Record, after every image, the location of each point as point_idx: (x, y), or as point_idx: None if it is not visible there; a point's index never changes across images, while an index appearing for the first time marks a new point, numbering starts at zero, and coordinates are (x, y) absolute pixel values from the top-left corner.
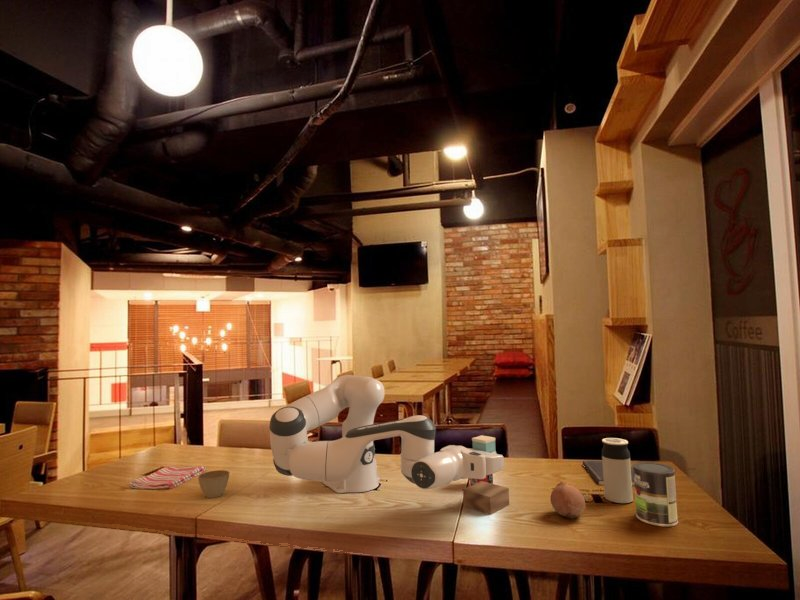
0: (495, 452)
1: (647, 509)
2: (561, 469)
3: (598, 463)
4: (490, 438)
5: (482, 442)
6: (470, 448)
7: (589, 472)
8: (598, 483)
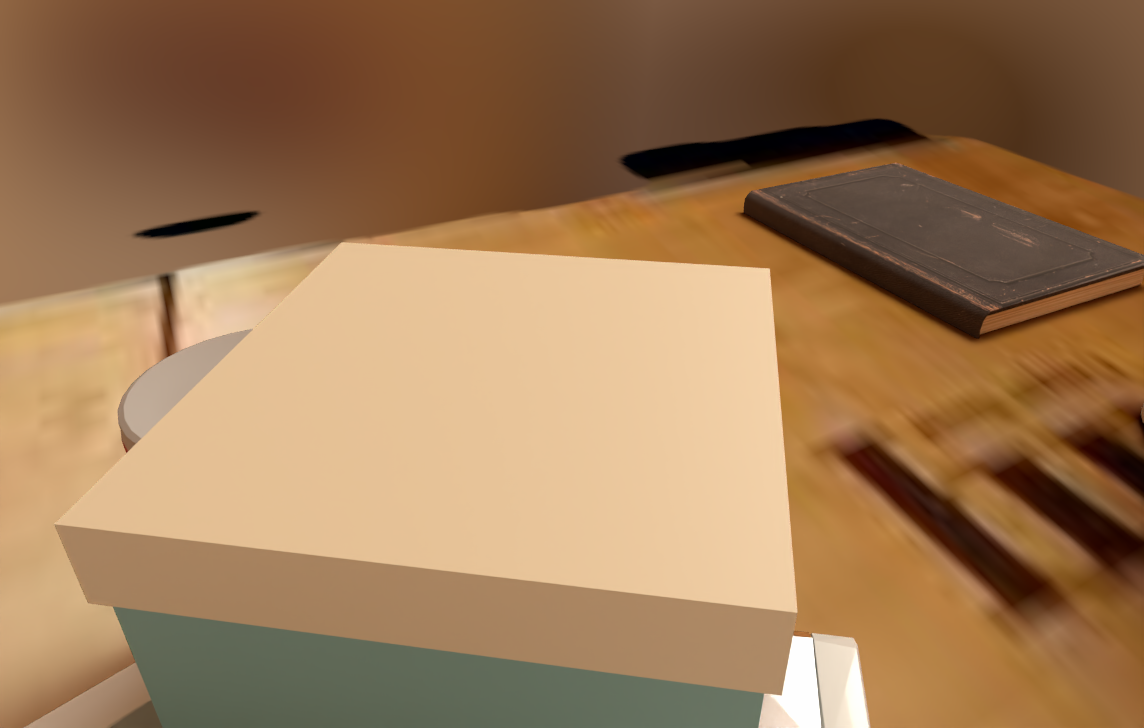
0: (859, 670)
1: None
2: (690, 263)
3: (826, 195)
4: (716, 343)
5: (600, 658)
6: (105, 689)
7: (837, 256)
8: (978, 330)
